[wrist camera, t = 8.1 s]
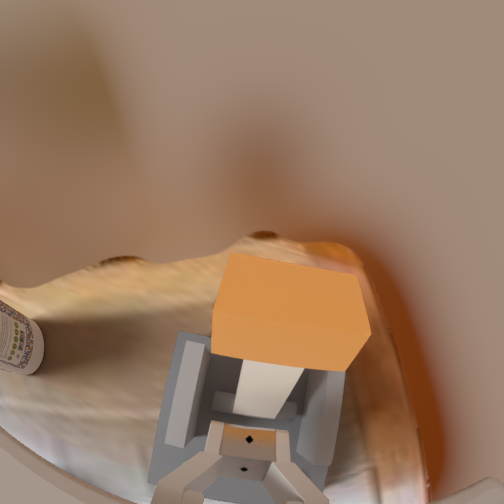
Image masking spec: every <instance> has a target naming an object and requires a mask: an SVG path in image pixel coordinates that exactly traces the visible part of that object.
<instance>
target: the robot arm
mask: <svg viewBox="0 0 504 504" xmlns="http://www.w3.org/2000/svg"><path fill="white" fill-rule="evenodd" d="M223 429H224V430H223ZM219 476H222V477H229V478H238V479H246V480H254V481H262V483H263V485H264V486H265V488H266V490H267V491H268V493H269V494H270V496H271V497H272V499H273V500H274V502H275V503H276V504H329V499H328V498H327V497H326V496H325V495H324V494H323V493H322V492H321V491H320V490H319V489H318V488H317V487H316V486H315V485H314V484H313V482H312V481H311V480H310V479H309V478H308V477H307V476H306V475H305V474H304V473H303V472H302V470H301V469H300V468H299V467H298V466H297V465H296V464H295V463H293V462H291V456H290V440H289V432H288V430H276V429H267V428H257V427H246V426H240V425H235V424H229V423H225V425H224V422H219V421H214V420H212V421H211V423H210V428H209V432H208V437H207V441H206V445H205V450H204V452H202V451H200V452H199V453H197V454H196V455H195V456H193V457H192V458H191V459H189V460H188V461H186V462H185V463H184V464H182V465H181V466H179V467H178V468H177V469H175V470H174V471H172V472H171V473H169V474H168V475H166V476H165V477H163V478H162V479H160V480H159V481H158V484H157V487H156V490H155V493H154V496H153V499H152V502H151V504H203V502H204V495H203V494H202V492H203V491H205V490H206V489H207V488H208V487H209V486H210V485H211V484H212V483H213V482H214V481H215V480H216V479H217V478H218V477H219ZM0 504H136V503H134V502H131V501H128V500H125V499H123V498H120V497H118V496H115V495H113V494H110V493H108V492H106V491H103V490H101V489H99V488H97V487H95V486H93V485H90V484H88V483H86V482H84V481H82V480H80V479H78V478H77V477H75V476H73V475H71V474H69V473H67V472H66V471H64V470H62V469H60V468H59V467H57V466H55V465H54V464H52V463H50V462H49V461H47V460H46V459H44V458H42V457H41V456H39V455H38V454H36V453H35V452H33V451H32V450H31V449H29V448H28V447H26V446H25V445H24V444H22V443H21V442H20V441H18V440H17V439H16V438H14V437H13V436H12V435H10V434H9V433H8V432H7V431H5V430H4V429H3V428H2V427H1V426H0ZM428 504H504V483H503V482H501V481H499V480H497V479H495V478H493V477H487V478H484V479H482V480H480V481H479V482H477V483H475V484H473V485H471V486H469V487H466V488H464V489H462V490H460V491H458V492H456V493H453V494H451V495H449V496H446V497H444V498H441V499H439V500H436V501H434V502H431V503H428Z"/></svg>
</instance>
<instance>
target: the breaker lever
mask: <svg viewBox="0 0 504 504" xmlns="http://www.w3.org/2000/svg"><path fill="white" fill-rule="evenodd" d="M370 335H371V329H370V325H369V321H368V317H367V312H366V308H365V304H364V300H363V297H362V293H361V289H360V285H359V282H358V278H357V275H353V274H347V273H341V272H336V271H330V270H325V269H319V268H313V267H308V266H302V265H297V264H291V263H286V262H280V261H274V260H269V259H263V258H258V257H252V256H247V255H241V254H236V253H231V254H230V257H229V260H228V263H227V267H226V270H225V273H224V276H223V279H222V282H221V285H220V289H219V292H218V295H217V298H216V301H215V304H214V308H213V318H212V338H211V353H214V354H218V355H223V356H228V357H234V358H239V359H243V363H242V368H241V373H240V377H239V382H238V386H237V391H236V394H234V393H228V392H223V391H218V390H215V394H214V398H213V403H212V410H214V411H219V412H225V413H230V414H236V415H242V416H248V417H255V418H262V419H270V420H279V421H289V422H293V421H294V420H295V417H296V413H297V403H296V402H290V401H286V399H287V398H288V396H289V394H290V393H291V391H292V389H293V388H294V386H295V384H296V383H297V381H298V379H299V377H300V376H301V374H302V372H303V370H304V369H305V368H308V369H317V370H328V371H340V372H345V371H346V369H347V368H348V367H349V365H350V364H351V362H352V361H353V360H354V358H355V357H356V355H357V354H358V353H359V351H360V350H361V348H362V347H363V345H364V344H365V342H366V341H367V340H368V338H369V337H370Z"/></svg>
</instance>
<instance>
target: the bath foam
mask: <svg viewBox="0 0 504 504" xmlns="http://www.w3.org/2000/svg"><path fill="white" fill-rule="evenodd" d="M43 355H44V339H43V335H42V332H41V330H40V328H39V327H38V325H37V324H36V323H35V322H34V321H33V320H31V319H29V318H28V317H26V316H24V315H23V314H21V313H20V312H18V311H16V310H15V309H13V308H12V307H10V306H8V305H7V304H5V303H4V302H2V301H1V300H0V369H2V370H6V371H9V372H14V373H17V374H21V375H29V374H32V373H33V372H35V371H36V370H37V369H38V367H39V366H40V364H41V362H42V359H43Z"/></svg>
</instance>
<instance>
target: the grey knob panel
mask: <svg viewBox="0 0 504 504" xmlns="http://www.w3.org/2000/svg"><path fill="white" fill-rule="evenodd" d="M242 363H243V359H239V358H234V357H228V356H223V355H218V354H214V353H211V337H206V336H202V335H197V334H193V333H188V332H184V331H180V330H179V332H178V336H177V340H176V344H175V349H174V353H173V357H172V361H171V365H170V370H169V374H168V378H167V383H166V387H165V392H164V397H163V401H162V406H161V411H160V416H159V421H158V426H157V431H156V436H155V442H154V447H153V453H152V459H151V465H150V471H149V477H148V483H150V484H153V485H156V486H157V484H158V481H159V480H160V479H162V478H163V477H165V476H166V475H168V474H169V473H171V472H172V471H174V470H175V469H177V468H178V467H179V466H181V465H182V464H184V463H185V462H186V461H188V460H189V459H191V458H192V457H193V456H195V455H196V454H197V453H199V452H200V451H202V452H204V450H205V445H206V441H207V437H208V432H209V428H210V423H211V421H212V420H214V421H219V422H224V425H225V423H229V424H235V425H240V426H246V427H257V428H267V429H276V430H288V432H289V440H290V456H291V462H293V463H295V464H296V465H297V466H298V467H299V468H300V469H301V470H302V472H303V473H304V474H305V475H306V476H307V477H308V478H309V479H310V480H311V481H312V482H313V484H314V485H315V486H316V487H317V488H318V489H319V490H320V491H321V492H322V493H323V490H324V485H325V481H326V477H327V472H328V467H329V465H332V461H333V456H334V451H335V445H336V440H337V434H338V427H339V421H340V414H341V407H342V399H343V390H344V381H345V372H340V371H328V370H317V369H308V368H305V369H304V370H303V372H302V374H301V376H300V377H299V379H298V381H297V383H296V384H295V386H294V388H293V389H292V391H291V393H290V394H289V396H288V398H287V399H286V401H290V402H296V403H297V413H296V417H295V420H294V421H293V422H289V421H279V420H270V419H262V418H255V417H248V416H242V415H236V414H230V413H225V412H219V411H214V410H212V403H213V398H214V394H215V390H218V391H223V392H228V393H234V394H236V391H237V386H238V382H239V377H240V373H241V368H242ZM223 430H224V429H223ZM202 494H203V495H204V498H208V499H213V500H219V501H225V502H232V503H239V504H276V503H275V502H274V500H273V499H272V497H271V496H270V494H269V493H268V491H267V490H266V488H265V486H264V485H263V483H262V481H254V480H246V479H238V478H229V477H222V476H219V477H218V478H217V479H216V480H215V481H214V482H213V483H212V484H211V485H210V486H209V487H208V488H207V489H206V490H205V491H203V492H202Z"/></svg>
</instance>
